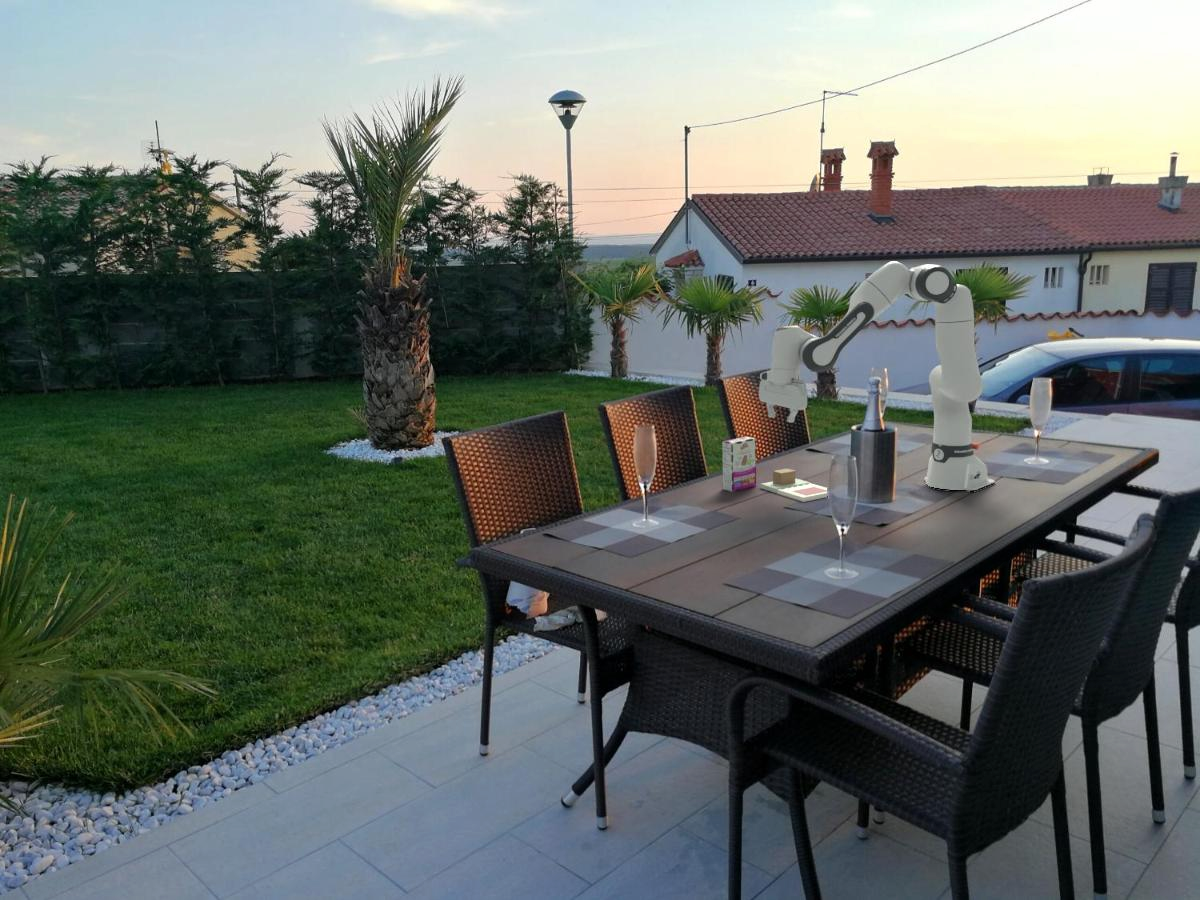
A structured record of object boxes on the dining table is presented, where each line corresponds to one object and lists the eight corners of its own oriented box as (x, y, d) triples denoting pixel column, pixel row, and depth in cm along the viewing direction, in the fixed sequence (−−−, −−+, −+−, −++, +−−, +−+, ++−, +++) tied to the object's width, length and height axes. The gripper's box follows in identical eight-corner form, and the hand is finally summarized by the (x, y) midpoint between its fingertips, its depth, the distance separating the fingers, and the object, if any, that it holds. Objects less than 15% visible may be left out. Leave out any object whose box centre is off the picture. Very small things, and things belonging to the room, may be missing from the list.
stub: (793, 482, 280) (793, 466, 279) (809, 486, 273) (810, 470, 272) (760, 488, 274) (760, 471, 273) (776, 493, 267) (776, 476, 266)
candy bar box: (745, 483, 281) (745, 435, 277) (756, 486, 277) (757, 438, 273) (721, 489, 274) (721, 440, 271) (732, 492, 270) (732, 442, 267)
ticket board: (810, 487, 273) (810, 482, 273) (837, 495, 263) (837, 490, 263) (777, 494, 267) (777, 489, 266) (803, 502, 256) (803, 497, 256)
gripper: (813, 380, 258) (810, 424, 261) (772, 372, 276) (769, 414, 279) (797, 381, 256) (794, 425, 259) (756, 373, 273) (754, 415, 276)
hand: (781, 419), depth 269 cm, fingers open, 8 cm apart
